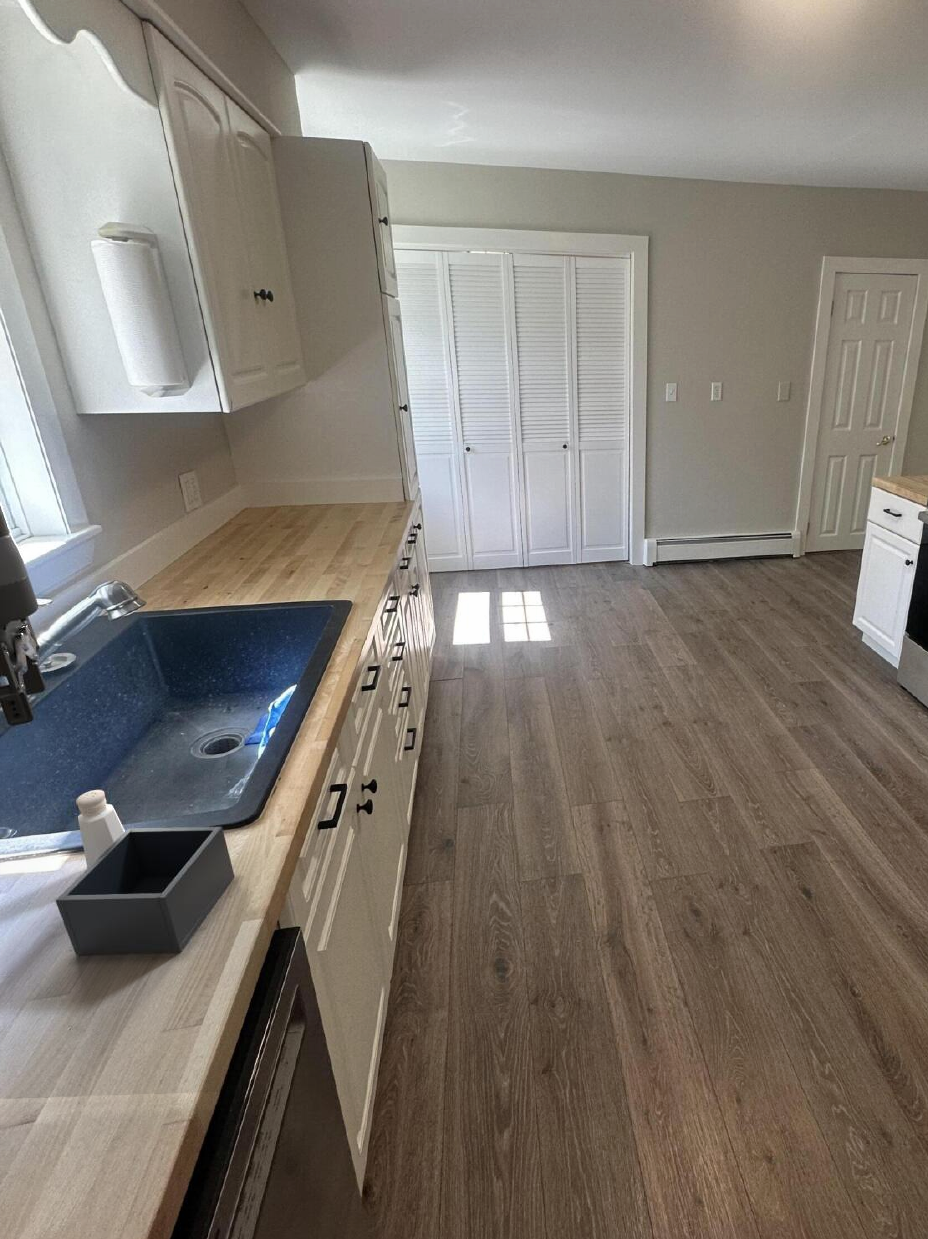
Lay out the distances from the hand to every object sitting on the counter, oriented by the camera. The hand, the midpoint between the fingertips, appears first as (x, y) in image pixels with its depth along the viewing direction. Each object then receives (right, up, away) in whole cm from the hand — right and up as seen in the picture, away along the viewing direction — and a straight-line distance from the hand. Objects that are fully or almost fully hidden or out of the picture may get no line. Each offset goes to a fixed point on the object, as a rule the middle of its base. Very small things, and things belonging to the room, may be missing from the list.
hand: (28, 707), depth 78 cm
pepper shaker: (+5, -22, +7) cm, 24 cm away
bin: (+16, -25, 0) cm, 29 cm away
